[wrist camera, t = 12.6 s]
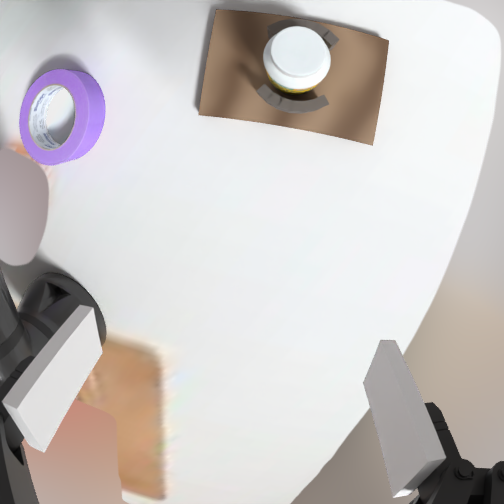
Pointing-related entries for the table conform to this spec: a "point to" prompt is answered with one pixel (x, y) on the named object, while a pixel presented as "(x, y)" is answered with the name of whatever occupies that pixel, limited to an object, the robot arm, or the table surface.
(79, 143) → the masking tape
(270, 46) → the supplement bottle
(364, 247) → the table surface
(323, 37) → the collar board
